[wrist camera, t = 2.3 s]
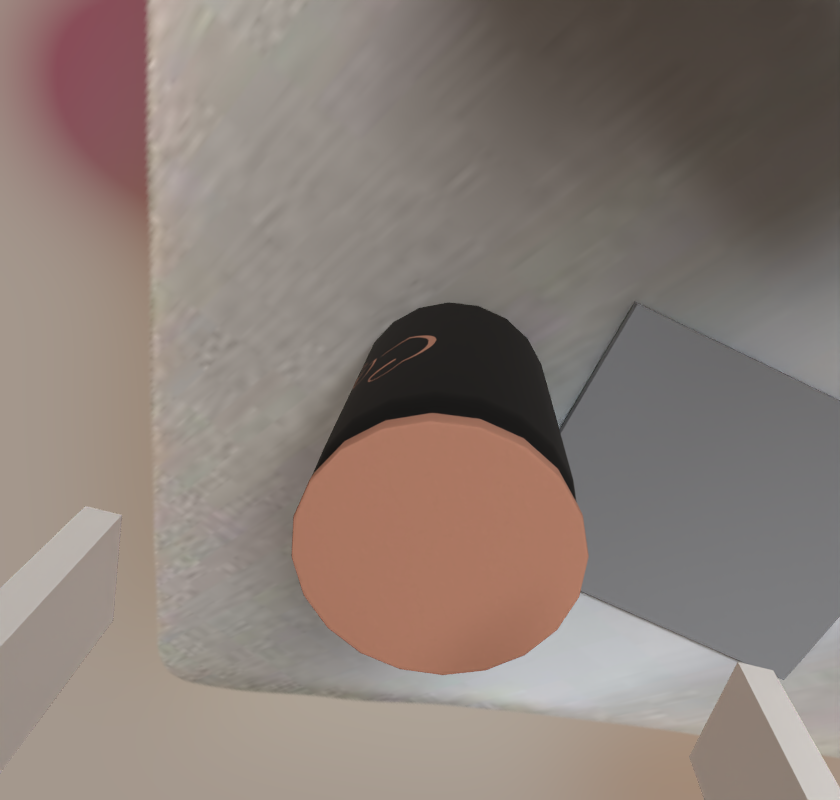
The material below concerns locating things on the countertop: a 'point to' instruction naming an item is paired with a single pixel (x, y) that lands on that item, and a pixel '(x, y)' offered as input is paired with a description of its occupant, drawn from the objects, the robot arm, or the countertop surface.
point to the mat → (708, 492)
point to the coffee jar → (443, 501)
